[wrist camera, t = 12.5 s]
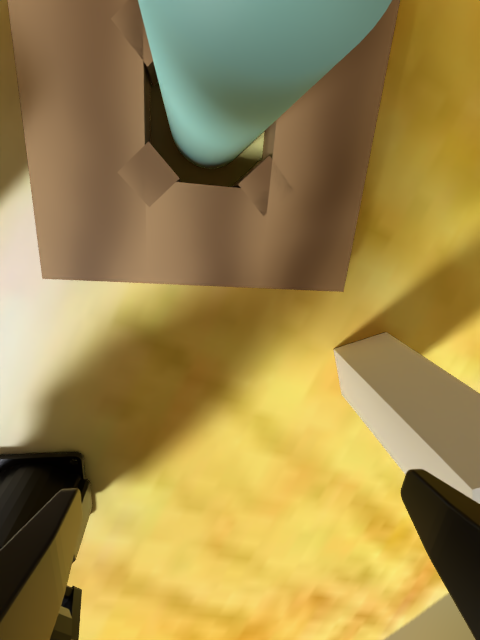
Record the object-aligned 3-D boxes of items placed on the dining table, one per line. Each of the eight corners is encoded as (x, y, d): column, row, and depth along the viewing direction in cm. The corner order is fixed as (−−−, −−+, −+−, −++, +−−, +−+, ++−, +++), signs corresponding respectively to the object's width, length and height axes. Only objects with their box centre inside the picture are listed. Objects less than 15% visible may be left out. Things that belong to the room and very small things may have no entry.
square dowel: (341, 394, 24) (471, 557, 13) (333, 348, 23) (472, 489, 12) (391, 378, 24) (560, 525, 13) (386, 332, 23) (572, 455, 12)
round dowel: (170, 164, 17) (114, 54, 4) (170, 75, 16) (90, -476, 3) (243, 172, 18) (386, 96, 5) (249, 87, 17) (468, -321, 4)
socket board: (60, 268, 18) (42, 278, 16) (19, -127, 13) (-18, -199, 11) (326, 281, 21) (343, 291, 19) (382, -42, 16) (416, -84, 13)
